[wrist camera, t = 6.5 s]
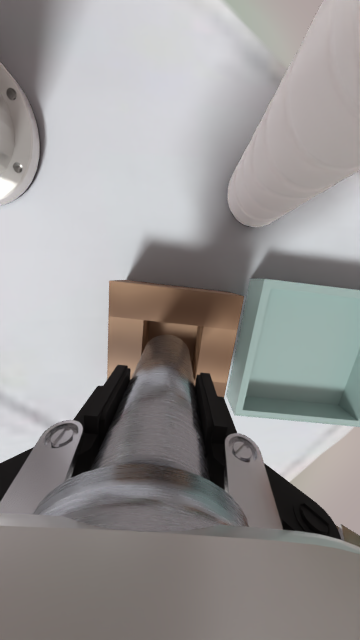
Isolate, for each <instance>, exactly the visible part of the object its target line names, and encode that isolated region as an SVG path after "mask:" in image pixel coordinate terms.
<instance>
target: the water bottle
mask: <svg viewBox="0 0 360 640" xmlns="http://www.w3.org/2000/svg"><path fill="white" fill-rule="evenodd" d="M359 170H360V0H323V2H322V3H321V5H320V7H319V9H318V11H317V13H316V15H315V17H314V19H313V21H312V23H311V25H310V27H309V29H308V31H307V33H306V35H305V37H304V39H303V42H302V44H301V46H300V49H299V50H298V51H297V53H296V55H295V56H294V58H293V60H292V62H291V63H290V65H289V67H288V69H287V71H286V73H285V75H284V77H283V79H282V81H281V83H280V85H279V87H278V89H277V91H276V93H275V95H274V96H273V98H272V100H271V102H270V103H269V105H268V107H267V109H266V112H265V114H264V116H263V118H262V119H261V121H260V123H259V125H258V127H257V128H256V130H255V132H254V134H253V136H252V139H251V141H250V143H249V144H248V146H247V148H246V150H245V151H244V153H243V155H242V158H241V160H240V161H239V163H238V165H237V166H236V168H235V170H234V172H233V174H232V176H231V179H230V182H229V185H228V204H229V208H230V210H231V212H232V213H233V214H234V217H235V218H236V219H237V220H238V221H239V222H240V223H242V224H244V225H248V226H250V227H262V226H265V225H268V224H270V223H272V222H274V221H275V220H277V219H279V218H280V217H282V216H283V215H285V214H287V213H289V212H290V211H292V210H294V209H295V208H297V207H298V206H300V205H302V204H304V203H305V202H307V201H309V200H310V199H312V198H313V197H315V196H316V195H318V194H320V193H322V192H324V191H326V190H327V189H329V188H331V187H332V186H334V185H335V184H336V183H338V182H340V181H342V180H344V179H345V178H347V177H349V176H351V175H353V174H354V173H356V172H358V171H359Z"/></svg>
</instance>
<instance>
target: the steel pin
mask: <svg viewBox="0 0 360 640" xmlns="http://www.w3.org/2000/svg"><path fill="white" fill-rule="evenodd" d="M32 515H52V516H64V517H67V518H70V519H73V520H76V521H79V522H83V523H87V524H90V525H94V526H99V527H105V528H110V529H116V530H128V531H139V532H171V531H185V530H192V529H199V528H205V527H210V526H215V525H228V526H244V527H249V525H248V521H247V518H246V515H245V514H244V512H243V510H242V509H241V507H240V506H239V504H238V503H237V502H236V501H235V500H234V499H233V498H232V497H231V496H230V495H229V494H228V493H227V492H226V491H224V490H223V489H222V488H220V487H219V486H217V485H216V484H214V483H213V482H211V481H210V477H209V471H208V465H207V459H206V452H205V446H204V440H203V434H202V428H201V422H200V415H199V409H198V403H197V397H196V391H195V384H194V378H193V372H192V366H191V360H190V353H189V349H188V347H187V345H186V344H185V343H184V342H183V341H182V340H181V339H180V338H178V337H176V336H173V335H167V334H165V335H159V336H156V337H154V338H153V339H151V340H150V341H149V342H148V343H147V345H146V346H145V349H144V351H143V353H142V355H141V357H140V360H139V362H138V364H137V366H136V369H135V371H134V373H133V375H132V378H131V380H130V382H129V384H128V386H127V389H126V391H125V393H124V395H123V398H122V400H121V402H120V404H119V407H118V409H117V411H116V413H115V415H114V418H113V420H112V422H111V424H110V427H109V429H108V431H107V433H106V436H105V438H104V440H103V442H102V444H101V447H100V449H99V451H98V453H97V456H96V458H95V460H94V462H93V465H92V467H91V469H90V471H88V472H84V473H82V474H79V475H77V476H75V477H73V478H70V479H69V480H67V481H65V482H63V483H62V484H60V485H58V486H57V487H56V488H55V489H53V490H52V491H51V492H50V493H48V494H47V495H46V496H45V497H44V499H43V500H42V501H41V502H40V503H39V504H38V506H37V508H36V509H35V511H34V513H33V514H32Z"/></svg>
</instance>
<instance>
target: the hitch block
mask: <svg viewBox="0 0 360 640" xmlns="http://www.w3.org/2000/svg"><path fill="white" fill-rule="evenodd" d="M243 299H244V296H241V295H237V294H234V293H230V292H224V291H216V290H207V289H198V288H190V287H181V286H173V285H164V284H156V283H147V282H138V281H130V280H115V281H109V324H108V371H107V380H108V378H109V377H110V375H111V374H112V372H113V371H114V369H115V368H116V366H117V365H127V366H128V368H130V369H131V372H130V380H131V378H132V375H133V373H134V371H135V369H136V366H137V364H138V362H139V360H140V357H141V355H142V353H143V351H144V349H145V346H146V345H147V343H148V342H149V341H150V340H151V339H153V338H154V337H156V336H159V335H165V334H167V335H173V336H176V337H178V338H180V339H181V340H182V341H183V342H184V343H185V344H186V345H187V347H188V349H189V353H190V360H191V366H192V372H193V378H194V384H195V383H196V377H197V375H200V373H210V376H211V379H212V381H213V384H214V387H215V390H216V393H217V396H219V397H223V398H224V395H225V390H226V385H227V380H228V375H229V370H230V365H231V359H232V354H233V349H234V344H235V339H236V334H237V329H238V324H239V319H240V314H241V309H242V304H243Z"/></svg>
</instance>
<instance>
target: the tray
mask: <svg viewBox="0 0 360 640" xmlns="http://www.w3.org/2000/svg"><path fill="white" fill-rule="evenodd" d="M227 398H228V401H229V403H230V406H231V408H232V410H233V413H234V415H237V416H248V417H259V418H269V419H280V420H291V421H302V422H312V423H323V424H334V425H345V426H355V427H360V290H355V289H346V288H338V287H330V286H321V285H313V284H305V283H296V282H288V281H280V280H271V279H250V282H249V287H248V292H247V297H246V302H245V307H244V312H243V317H242V321H241V326H240V331H239V336H238V341H237V346H236V351H235V356H234V361H233V366H232V371H231V376H230V381H229V386H228V391H227Z"/></svg>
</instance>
